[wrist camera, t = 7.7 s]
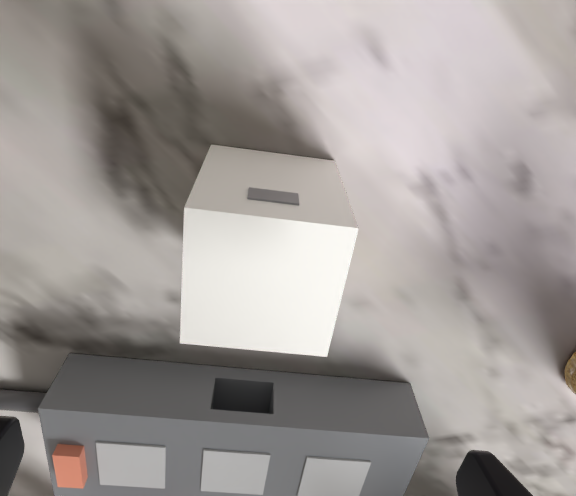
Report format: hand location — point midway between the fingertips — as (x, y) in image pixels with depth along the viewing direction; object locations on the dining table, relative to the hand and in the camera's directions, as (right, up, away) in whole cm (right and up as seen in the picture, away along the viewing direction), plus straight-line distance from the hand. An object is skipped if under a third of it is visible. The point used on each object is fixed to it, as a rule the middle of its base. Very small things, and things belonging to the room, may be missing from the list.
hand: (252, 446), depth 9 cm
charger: (0, +5, +11) cm, 12 cm away
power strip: (-5, -5, +16) cm, 17 cm away
